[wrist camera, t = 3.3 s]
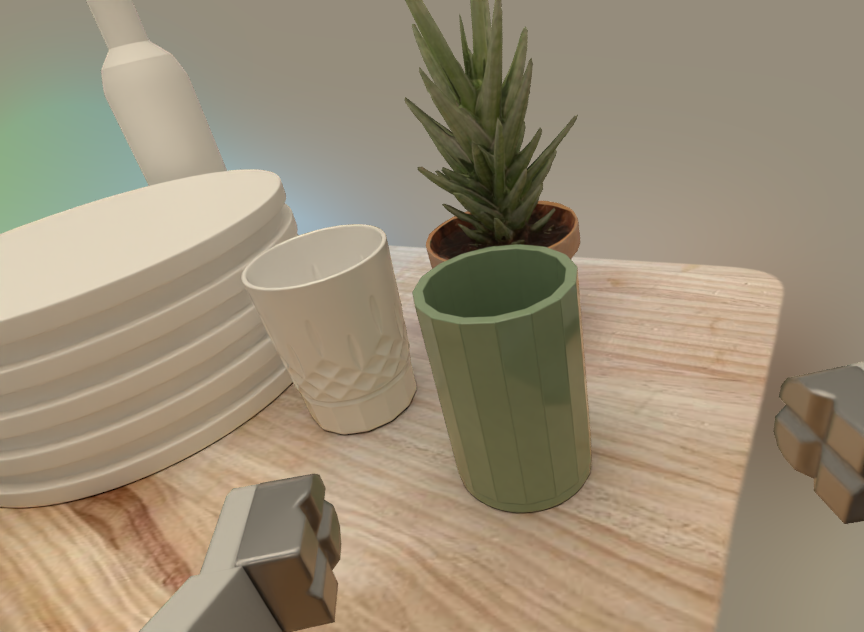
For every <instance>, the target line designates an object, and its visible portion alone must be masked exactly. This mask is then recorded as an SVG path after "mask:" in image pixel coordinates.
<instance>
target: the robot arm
mask: <svg viewBox="0 0 864 632" xmlns="http://www.w3.org/2000/svg"><path fill="white" fill-rule="evenodd" d="M779 397H780V398H781V400H782V401H783V402H784V403H785V404H786V405H785V407H784V408H783V409H782V410H781V411H780V412H779V413H778V414H777V415H776V416H775V423H774V435H775V438H776V442H777V446H778V448H779V450H780V451H781V453H782V455H783V457H784V458H785V459H786V460H787V462H788V463H789V464H790V465H791V466H792V467H793V468H794V469H795V470H796V471H798V472H800V473H803V474H805V475H807V476H809V477H811V478H814V491H815V493H816V494H817V495H818V496H819V497H820V498H821V499H822V500H823V501H824V502H825V503H826V504H827V506H828V507H829V508H830V509H831V510H832V511H833V512H834V513H835V514H836V515H837V516H838V517H839V519H840V520H841V521H842V522H843V523H844V524H848V523H854V522H860V521H864V362H860V363H855V364H850V365H847V366H842V367H837V368H833V369H827V370H823V371H818V372H813V373H808V374H804V375H799V376H794V377H790V378H787V379H786V380H785V381H784V383H783V384H782V385H781V390H780V394H779ZM324 496H325V486H324V484H323V481H322V479H321V477H320V475H318V474H310V475H304V476H298V477H293V478H287V479H281V480H276V481H270V482H264V483H260V484H257V485H251V486H245V487H239V488H233V489H232V490H231V491H230V492H229V493H228V495H227V496H226V498H225V501H224V504H223V507H222V510H221V513H220V516H219V519H218V522H217V525H216V528H215V531H214V533H213V536H212V539H211V542H210V545H209V548H208V551H207V554H206V557H205V560H204V563H203V566H202V568H201V571H200V574H199V575H195V576H191V577H190V578H189V579H188V580H187V581H186V582H185V583H184V584H183V585H182V586H181V587H180V588H179V589H178V590H177V591H176V593H175V594H174V595H173V596H172V597H171V598H170V599H169V600H168V601H167V602H166V603H165V604H164V605H163V606H162V607H161V609H160V610H159V611H158V612H157V613H156V614H155V615H154V616H153V617H152V618H151V619H150V620H149V621H148V622H147V623H146V625H145V626H144V627H143V628H142V629H141V630H140V631H139V632H293V631H297V630H302V629H306V628H311V627H315V626H320V625H324V624H329V623H333V622H335V612H336V601H337V590H338V582H337V580H336V578H335V576H334V574H333V571H332V570H333V569H334V567H335V566H336V564H337V563H338V562H339V560H340V555H341V534H340V525H339V521H338V517H337V514H336V511H335V509H334V506H333V505H332V504H331V503H329V502H327V501H325V500H324Z"/></svg>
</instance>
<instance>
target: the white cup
mask: <svg viewBox="0 0 864 632" xmlns="http://www.w3.org/2000/svg"><path fill="white" fill-rule="evenodd" d="M241 279H242V282H243V284H244V286H245V288H246V290H247V292H248V294H249V296H250V298H251V300H252V302H253V304H254V306H255V308H256V310H257V312H258V314H259V316H260V318H261V320H262V322H263V325H264V327H265V329H266V331H267V333H268V335H269V337H270V339H271V341H272V343H273V345H274V347H275V349H276V351H277V353H278V354H279V356H280V358H281V360H282V362H283V364H284V366H285V367H286V369H287V371H288V373H289V375H290V377H291V379H292V381H293V383H294V385H295V386H296V388H297V390H298V391H299V392H300V393H301V395H302V397H303V399H304V401H305V404H306V406H307V408H308V410H309V412H310V414H311V416H312V417H313V419H314V420H315V421H316V422H317V423H318V424H319V425H320V427H321V428H322V429H324V430H328V431H331V432H335V433H339V434H351V433H359V432H366V431H370V430H372V429H374V428H377V427H379V426H381V425H383V424H386V423H388V422H390V421H392V420H393V419H394V418H395V417H397V416H398V415H399V414H400V413H401V412H402V411H403V410H404V409H406V408H407V407H408V406H409V405H410V402H411V400H412V398H413V396H414V393H415V391H416V389H417V387H416V382H415V378H414V374H413V369H412V365H411V360H410V353H409V347H410V345H409V341H408V337H407V330H406V324H405V321H404V317H403V310H402V304H401V300H400V296H399V292H398V287H397V283H396V279H395V274H394V270H393V265H392V260H391V256H390V251H389V247H388V242H387V238H386V234H385V233H384V232H383V231H382V230H381V229H380V228H377V227H375V226H370V225H361V224H352V225H340V226H334V227H328V228H324V229H320V230H316V231H312V232H309V233H305V234H302V235H299V236H296V237H294V238H291V239H289V240H286V241H284V242H282V243H279V244H277V245H275V246H273V247H271V248H270V249H268V250H266V251H264V252H263V253H261V254H260V255H258V256H257V257H256V258H254V259H253V260H252V261H251V262H250V263H249V264H248V265H247V266H246V267H245V269H244V270H243V272H242V276H241Z"/></svg>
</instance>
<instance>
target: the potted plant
mask: <svg viewBox="0 0 864 632" xmlns="http://www.w3.org/2000/svg"><path fill="white" fill-rule="evenodd" d="M405 1H406V3H407V5H408V7H409V9H410V11H411V13H412V15H413V17H414V19H415V21H416V23H417V25H418V28H419V30H420V32H421V34H422V36H423V37H422V36H421V34H420V32H419V31H418V29H417V27H416V25H415V24H412V28H413V32H414V36H415V39H416V42H417V44H418V47H419V50H420V52H421V55H422V57H423V60H424V62H425V64H426V66H427V69H428V71H429V73H430V74H431V77H432V79H433V80H434V83H435V84H434V83H433V82H432V81H431V80H430V79H429V78H428V76H427V75H426V74H425V73H424V72H423V71H422V69H421V68H419V72H420V75H421V77H422V79H423V81H424V84H425V86H426V89H427V91H428V92H429V93H430V95H431V98H432V100H433V102H434V104H435V105H436V107H437V108H438V110H439V112H440V113H441V115H442V116H443V118H444V120H445V121H446V123H447V125H448V126H449V128H450V130H451V131H452V132H451V131H450V130H448V129H447V128H445V127H444V126H443V125H441V124H440V123H438V122H437V121H435V120H434V119H433V118H431V117H430V116H428V115H427V114H426V113H424V112H423V111H422V110H421V109H419V108H418V107H417V106H416V105H415V104H414V103H412V102H411V101H410V100H409V99H407V98H406V97H405V102H406V104H407V105H408V107H409V108H410V110H411V111H412V112H413V114H414V115H415V116H416V117H417V119H418V120H419V121H420V122H421V123H422V124H423V126H424V128H425V129H426V131H427V132H428V134H429V136H430V137H431V139H432V140H433V142H434V144H435V145H436V147H437V149H438V150H439V152H440V153H441V154H442V156H443V157H444V158H445V160H446V161H447V162H448V164H449V165H450V167H451V168H452V169H453V170H454V171H451V170H449V169H446V168H444V167H443V168H442V171H443V173H444V174H445V175H444V174H443V173H441V172H440V171H435V172H436V173H437V175H438V176H437V175H435V174H433V173H432V172H430V171H428V170H426V169H425V168H423V167H418V170H419V171H420V172H421V173H422V174H423V175H425V176H426V177H427V178H428V179H429V180H431V181H432V182H433V183H435V184H437V185H438V186H439V187H441V188H443V189H444V190H446V191H448V192H449V193H451V194H453V195H454V196H455V197H456V198H457V200H458V201H459V202H460V203H461V204H462V205H463V206H464V208H465V209H466V210H468V211H467V212H462V211H460V210H458V209H456V208H454V207H452V206H450V205H446V204H442V205H443V206H444V207H445V208H446V209H447V210H448V211H449V212H451V213H452V214H453V215H455V216H454V217H452V218H451V219H449V220H447V221H445V222H444V223H442V224H441V225H439V226H438V227H437V228H436V229H434V231H432V232H431V233H430V234H429V237H428V239H427V242H426V248H427V252H428V255H429V259H430V263H431V266H432V269H433V268H434V267H436V266H437V265H438V264H440V263H442V262H445V261H447V260H449V259H452V258H454V257H456V256H458V255H461V254H464V253H467V252H471V251H475V250H479V249H483V248H487V247H493V246H505V245H516V244H518V245H519V244H521V245H532V246H543V247H547V248H550V249H553V250H556V251H558V252H561V253H564V254H566V255H567V256H568V257H569V258H570V259H571V258H572V257H573V256H574V254H575V253H576V252H577V251H578V248H579V245H580V233H579V224H578V218H577V216H576V215H575V213H574V211H573V210H572V209H570V208H568V207H566V206H564V205H562V204H559V203H554V202H549V201H538V200H539V196H540V194H541V192H542V190H543V181H544V179H545V177H546V176H547V174H548V172H549V170H550V168H551V165H552V162H553V160H554V158H555V156H556V152H557V151H556V150H555V149H556V148H557V146H558V145H559V143H560V142H561V141H562V139H563V138H564V137H565V136H566V134H567V133H568V131H569V130H570V128H571V127H572V126H573V125H574V123H575V121H576V119H577V116H578V115H576V116H574V117H573V118H572V119H571V121H570V122H569V123H568V124H567V126H566V127H565V128H564V129H563V130H562V131H561V132H560V134H559V135H558V136H557V137H556V138H555V139H554V140H553V141H552V143H551V144H550V145H549V146H548V147H547V148H546V149H545V150H544V151H543V152H542V154H541V155H540V156H539V157H538V158H537V159H536V160H535V161H534V162H533V163H532V164H531V165H530V166H529V167H528V168H527V166H528V164H529V162H530V160H531V158H532V155H533V153H534V151H535V149H536V147H537V145H538V142H539V139H540V137H541V132H542V129H541V128H540V129H539V130H538V131H537V133H536V134H535V136H534V137H533V139H532V140H531V142H530V143H529V144H528V145H527V146H526V147H525V148H524V149H523V150H522V151H521V152H519V151H520V147H521V145H522V142H523V137H524V132H525V122H524V118H525V114H526V109H527V105H528V97H529V94H530V86H531V85H530V84H531V77H532V66H533V63H532V59H530V60H529V63H528V66H527V69H526V71H525V73H524V76H523V72H524V67H525V60H526V51H527V32H528V30H527V29H526V27H525V28H524V29H523V31H522V33H521V36H520V39H519V43H518V46H517V50H516V52H515V55H514V58H513V61H512V64H511V66H510V69H509V71H508V74H507V76H506V78H505V80H504V82H503V84H502V9H501V7H502V4H501V0H495V5H494V12H493V20H492V27H491V22H490V12H489V3H488V0H470V3H471V16H472V29H473V51H474V53H473V54H472V53H471V51H470V50H469V48H468V45H467V41H466V37H465V33H464V28H463V23H462V20H461V16H460V32H461V41H462V50H463V58H464V66H465V73H464V71H463V69H462V67H461V65H460V64H459V62H458V61H457V60H456V59H455V57H454V55H453V53H452V51H451V50H450V48H449V46H448V44H447V42H446V40H445V39H444V37H443V35H442V33H441V31H440V30H439V28H438V26H437V25H436V23H435V21H434V20H433V18H432V16H431V15H430V13H429V11H428V10H427V8H426V6H425V4H424V3H423V1H422V0H405Z"/></svg>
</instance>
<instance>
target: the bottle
mask: <svg viewBox="0 0 864 632" xmlns="http://www.w3.org/2000/svg"><path fill="white" fill-rule="evenodd" d="M86 2H87V4H88V6H89V8H90V10H91V13H92V15H93V17H94V19H95V21H96V23H97V25H98V27H99V30H100V32H101V34H102V36H103V38H104V40H105V43H106V45H107V47H108V49H109V51H108V54H107V56H106V59H105V61H104V64H103V66H102V69H101V75H102V83H103V89H104V94H105V97H106V99H107V101H108V103H109V105H110V108H111V109H112V112H113V114H114V116H115V118H116V120H117V122H118V124H119V126H120V128H121V130H122V132H123V134H124V136H125V138H126V140H127V142H128V144H129V146H130V148H131V150H132V152H133V154H134V156H135V158H136V161H137V163H138V164H139V167H140V169H141V171H142V173H143V175H144V177H145V179H146V181H147V183H148V185H149V186H151V185H155V184H159V183H164V182H168V181H172V180H177V179H182V178H186V177H192V176H197V175H202V174H208V173H215V172H222V171H227V169H226V167H225V164H224V162H223V160H222V157H221V155H220V152H219V150H218V147H217V145H216V142H215V140H214V138H213V135H212V132H211V130H210V128H209V125H208V123H207V120H206V118H205V116H204V113H203V110H202V108H201V106H200V103H199V101H198V98H197V96H196V93H195V91H194V88H193V86H192V83H191V81H190V79H189V76H188V74H187V73H186V72H185V70H184V69H183V68H182V66H181V65H180V64H179V63H178V61H177V60H176V59H175V58H174V56H173V55H172V54H171V53H169V52H167V51H165V50H164V49H162V48H161V47H159V46H157V45H156V44H154V43H152V42H151V41H149V39H148V37H147V34H146V32H145V30H144V28H143V25H142V23H141V20H140V18H139V16H138V13H137V11H136V9H135V6H134V4H133V2H132V0H86Z"/></svg>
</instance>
